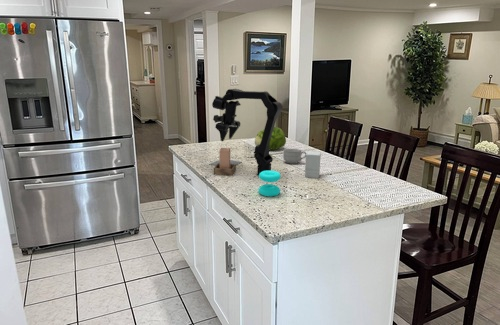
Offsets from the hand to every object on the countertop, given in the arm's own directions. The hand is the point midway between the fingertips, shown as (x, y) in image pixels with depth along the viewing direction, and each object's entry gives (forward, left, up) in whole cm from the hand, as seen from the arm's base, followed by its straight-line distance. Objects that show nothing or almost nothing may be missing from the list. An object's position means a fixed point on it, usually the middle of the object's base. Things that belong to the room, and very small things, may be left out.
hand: (226, 140), depth 207 cm
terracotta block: (-3, +7, -16) cm, 18 cm away
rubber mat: (+6, -8, -16) cm, 19 cm away
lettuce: (0, -54, -17) cm, 57 cm away
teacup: (-28, -31, -17) cm, 46 cm away
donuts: (-38, +24, -17) cm, 48 cm away
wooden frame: (-3, +7, -16) cm, 18 cm away
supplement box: (-46, -12, -17) cm, 51 cm away
